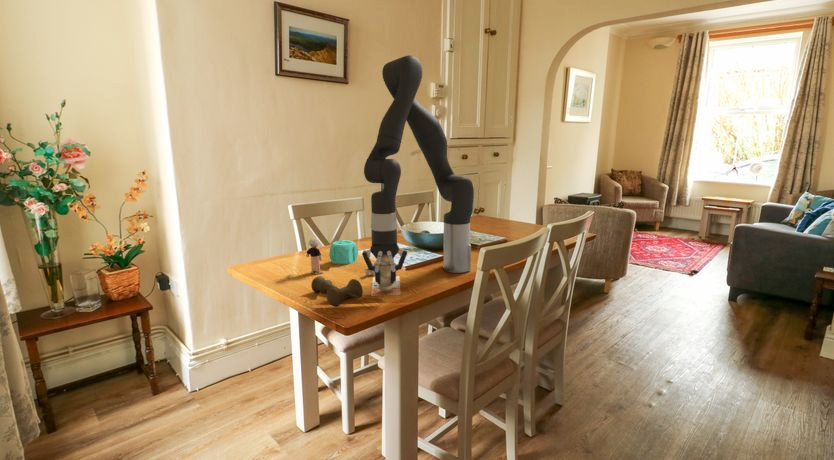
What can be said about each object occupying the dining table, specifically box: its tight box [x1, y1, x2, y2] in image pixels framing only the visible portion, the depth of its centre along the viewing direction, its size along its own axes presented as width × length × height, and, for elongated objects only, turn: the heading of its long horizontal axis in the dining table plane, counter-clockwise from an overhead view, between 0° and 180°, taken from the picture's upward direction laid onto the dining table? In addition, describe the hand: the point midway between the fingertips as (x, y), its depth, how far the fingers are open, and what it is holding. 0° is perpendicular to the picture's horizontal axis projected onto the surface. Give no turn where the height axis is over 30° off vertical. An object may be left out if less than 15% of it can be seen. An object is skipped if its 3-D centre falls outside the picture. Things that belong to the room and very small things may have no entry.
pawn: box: [379, 255, 394, 291], centre depth 134 cm, size 4×4×11 cm
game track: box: [370, 275, 401, 297], centre depth 141 cm, size 10×18×1 cm, turn 3°
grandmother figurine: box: [306, 237, 324, 275], centre depth 156 cm, size 8×4×13 cm, turn 65°
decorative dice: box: [328, 239, 359, 265], centre depth 168 cm, size 8×8×8 cm
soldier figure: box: [364, 261, 399, 277], centre depth 153 cm, size 8×5×12 cm
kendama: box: [311, 276, 364, 307], centre depth 133 cm, size 6×10×20 cm
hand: (385, 282), depth 135 cm, fingers closed on pawn, 3 cm apart
